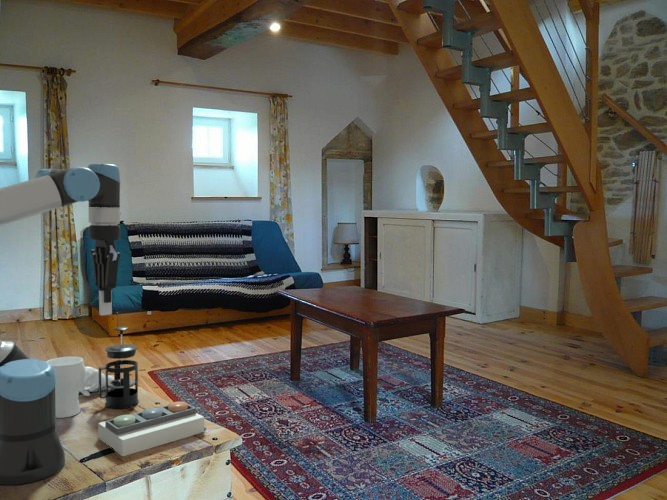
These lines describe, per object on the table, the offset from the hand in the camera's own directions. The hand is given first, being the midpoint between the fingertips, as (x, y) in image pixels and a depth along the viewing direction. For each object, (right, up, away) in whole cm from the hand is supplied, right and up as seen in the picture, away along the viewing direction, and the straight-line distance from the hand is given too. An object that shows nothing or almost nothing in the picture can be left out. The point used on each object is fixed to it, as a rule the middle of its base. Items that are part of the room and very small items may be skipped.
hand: (105, 314), depth 147 cm
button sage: (+8, -27, -7) cm, 29 cm away
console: (+13, -31, -2) cm, 34 cm away
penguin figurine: (-15, -28, +30) cm, 44 cm away
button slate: (+13, -27, -2) cm, 30 cm away
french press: (-4, -29, +20) cm, 35 cm away
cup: (-16, -29, +12) cm, 36 cm away
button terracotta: (+18, -26, +3) cm, 32 cm away
